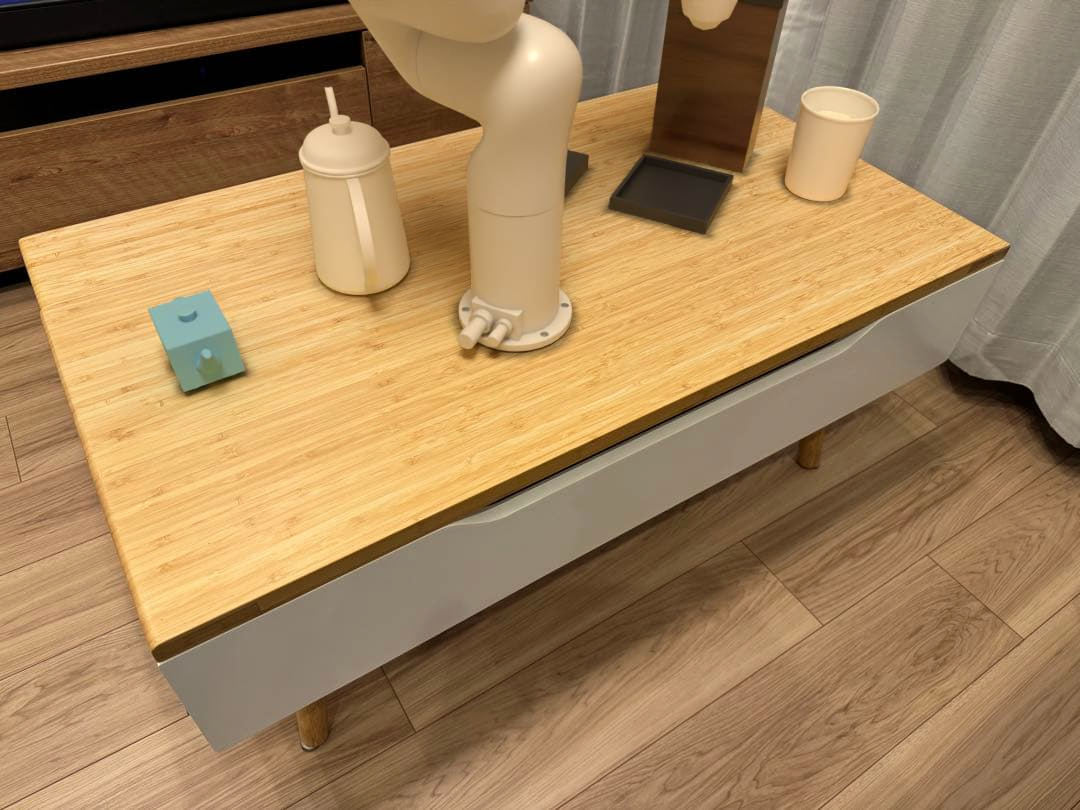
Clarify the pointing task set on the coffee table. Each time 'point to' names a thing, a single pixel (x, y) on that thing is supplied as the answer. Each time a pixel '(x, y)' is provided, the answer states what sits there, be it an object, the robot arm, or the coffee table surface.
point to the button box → (574, 168)
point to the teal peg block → (197, 339)
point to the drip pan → (672, 193)
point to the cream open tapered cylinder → (828, 141)
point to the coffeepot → (353, 206)
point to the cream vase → (707, 12)
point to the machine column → (715, 83)
